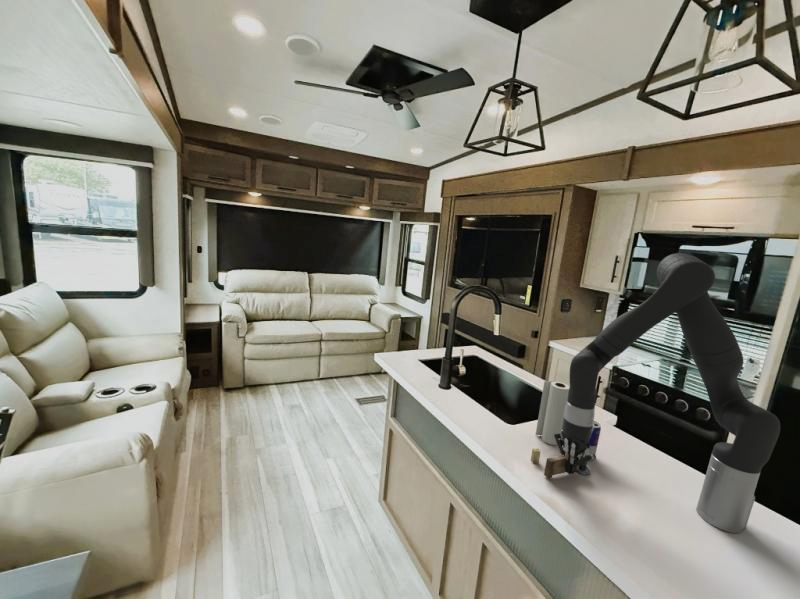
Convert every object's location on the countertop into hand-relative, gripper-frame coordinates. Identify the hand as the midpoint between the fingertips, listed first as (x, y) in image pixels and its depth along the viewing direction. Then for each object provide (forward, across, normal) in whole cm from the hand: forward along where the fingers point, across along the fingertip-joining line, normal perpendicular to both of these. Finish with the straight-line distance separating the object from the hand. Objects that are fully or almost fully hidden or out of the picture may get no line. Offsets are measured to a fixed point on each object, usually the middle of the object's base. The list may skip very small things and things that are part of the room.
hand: (569, 472), depth 102 cm
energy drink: (+3, -8, +16) cm, 18 cm away
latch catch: (+3, -11, -3) cm, 11 cm away
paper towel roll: (+3, -18, +12) cm, 22 cm away
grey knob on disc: (+3, -3, +9) cm, 10 cm away
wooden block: (+2, -3, +1) cm, 4 cm away
